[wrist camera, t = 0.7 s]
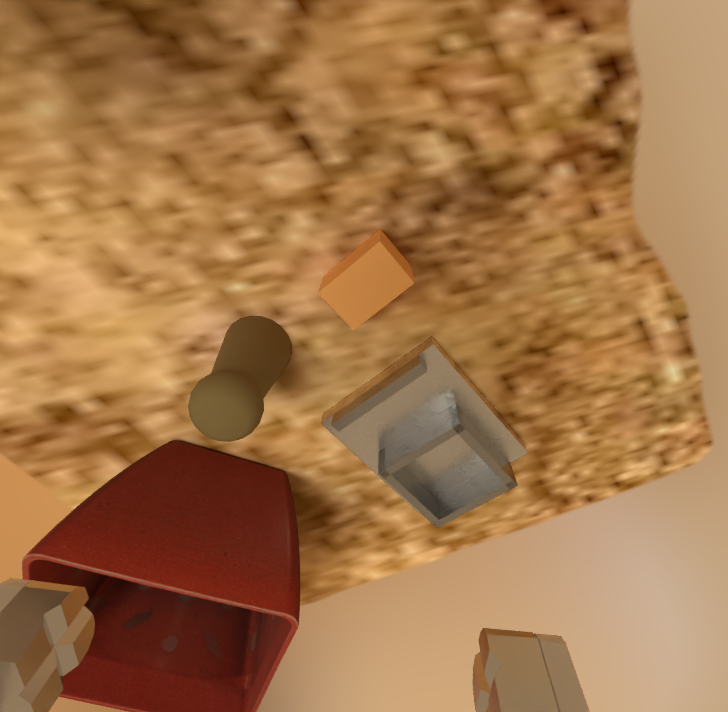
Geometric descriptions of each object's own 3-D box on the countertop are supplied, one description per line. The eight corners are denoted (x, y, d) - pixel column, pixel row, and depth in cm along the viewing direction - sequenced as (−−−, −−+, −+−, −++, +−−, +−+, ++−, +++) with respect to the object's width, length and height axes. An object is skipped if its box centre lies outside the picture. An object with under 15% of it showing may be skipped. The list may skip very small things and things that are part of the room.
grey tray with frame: (322, 413, 44) (316, 443, 40) (431, 336, 40) (436, 362, 36) (418, 502, 49) (420, 536, 45) (523, 442, 45) (537, 475, 41)
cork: (226, 309, 39) (174, 375, 30) (295, 323, 40) (267, 392, 30) (223, 369, 42) (175, 446, 33) (288, 381, 42) (259, 461, 33)
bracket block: (324, 275, 38) (317, 293, 34) (380, 228, 36) (379, 241, 32) (356, 310, 39) (353, 330, 35) (411, 266, 37) (414, 283, 33)
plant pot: (281, 571, 56) (244, 739, 41) (124, 529, 53) (23, 692, 39) (328, 459, 47) (302, 621, 32) (142, 403, 44) (20, 550, 30)
